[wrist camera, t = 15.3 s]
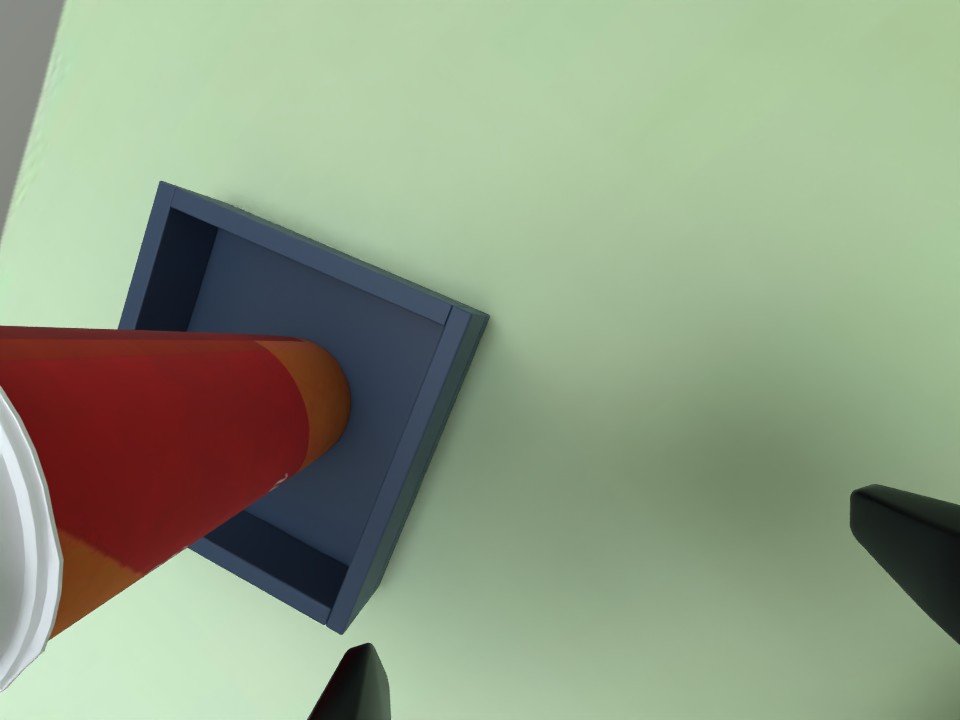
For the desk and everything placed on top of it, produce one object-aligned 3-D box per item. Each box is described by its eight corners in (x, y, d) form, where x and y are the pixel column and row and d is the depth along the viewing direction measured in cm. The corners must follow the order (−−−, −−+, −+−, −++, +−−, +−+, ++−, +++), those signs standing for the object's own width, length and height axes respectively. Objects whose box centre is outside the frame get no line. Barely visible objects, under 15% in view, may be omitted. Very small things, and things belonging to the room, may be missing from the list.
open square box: (490, 315, 20) (473, 314, 16) (378, 587, 22) (341, 636, 18) (224, 202, 22) (159, 179, 18) (145, 460, 24) (72, 483, 20)
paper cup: (199, 437, 22) (-412, 630, 8) (249, 285, 21) (-370, 222, 7) (341, 513, 21) (-100, 880, 7) (403, 357, 20) (14, 446, 6)
